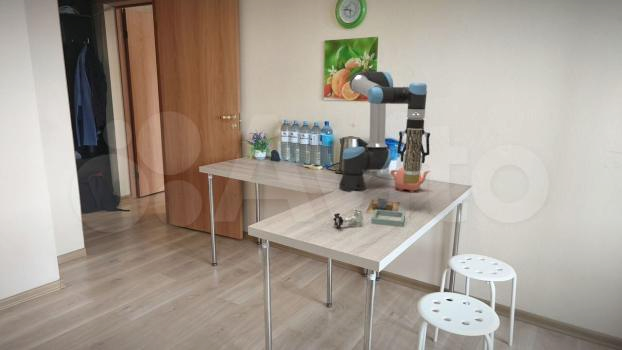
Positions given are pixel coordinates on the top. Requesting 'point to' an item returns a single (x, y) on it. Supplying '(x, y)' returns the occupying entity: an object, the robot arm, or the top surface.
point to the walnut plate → (389, 205)
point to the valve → (349, 219)
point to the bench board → (395, 208)
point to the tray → (387, 221)
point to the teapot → (403, 185)
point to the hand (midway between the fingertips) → (411, 169)
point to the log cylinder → (412, 155)
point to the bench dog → (382, 204)
